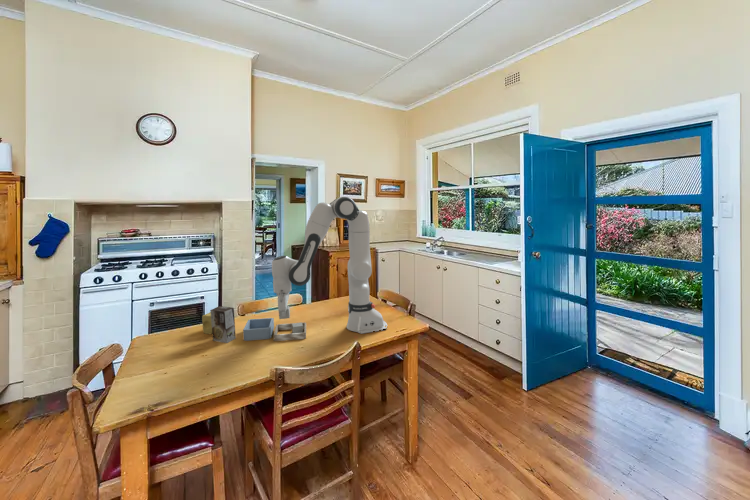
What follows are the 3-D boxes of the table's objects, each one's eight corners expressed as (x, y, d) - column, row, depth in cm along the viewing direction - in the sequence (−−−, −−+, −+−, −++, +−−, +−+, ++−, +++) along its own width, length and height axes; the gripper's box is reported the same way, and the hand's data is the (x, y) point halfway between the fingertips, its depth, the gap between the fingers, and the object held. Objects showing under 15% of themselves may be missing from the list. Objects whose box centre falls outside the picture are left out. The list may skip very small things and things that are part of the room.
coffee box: (236, 338, 162) (234, 307, 159) (226, 343, 156) (224, 311, 153) (222, 335, 165) (220, 305, 162) (212, 340, 159) (209, 309, 156)
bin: (274, 327, 176) (273, 317, 175) (270, 338, 161) (270, 328, 160) (249, 329, 173) (248, 319, 172) (243, 340, 159) (242, 330, 158)
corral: (306, 327, 176) (306, 322, 175) (306, 338, 161) (305, 333, 161) (276, 329, 173) (276, 324, 172) (273, 341, 158) (273, 335, 158)
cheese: (220, 335, 165) (218, 317, 164) (201, 333, 167) (200, 315, 166) (232, 327, 175) (231, 310, 174) (215, 326, 177) (214, 309, 176)
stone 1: (290, 314, 168) (289, 305, 167) (289, 318, 163) (288, 308, 162) (280, 315, 167) (279, 306, 166) (279, 319, 162) (278, 309, 161)
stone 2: (302, 331, 171) (301, 322, 170) (303, 334, 166) (302, 325, 165) (292, 332, 169) (292, 323, 168) (293, 336, 165) (292, 327, 164)
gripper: (287, 293, 153) (289, 320, 155) (290, 282, 173) (291, 307, 175) (273, 294, 152) (276, 321, 154) (277, 283, 172) (279, 308, 174)
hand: (284, 313), depth 165 cm, fingers closed on stone 1, 5 cm apart
